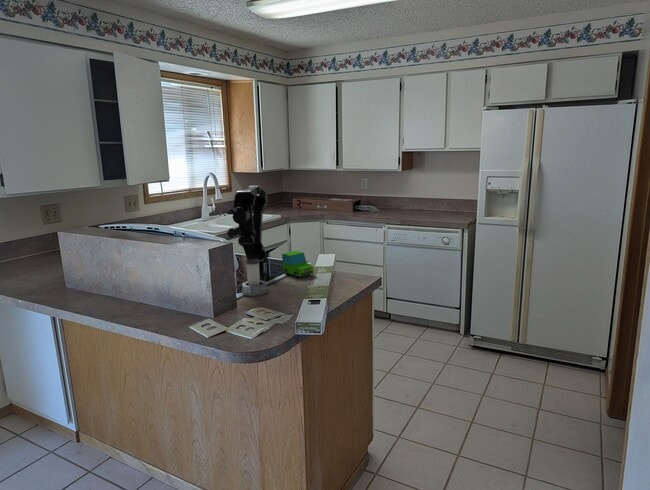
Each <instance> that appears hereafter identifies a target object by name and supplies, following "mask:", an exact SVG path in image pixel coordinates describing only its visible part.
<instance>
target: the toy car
mask: <svg viewBox="0 0 650 490" xmlns="http://www.w3.org/2000/svg"><path fill="white" fill-rule="evenodd" d="M281 255H282V256H281V257H282V259H281V261H282V271H283V273H284V274H285V275H286V274H287V275H286V276H289V275H293V276H294V278H296V279H299V278H301V277H304V276H310V275H312V274H314V265H312V264H310V263H308V261H307V260H306V256H305V253H304V252H303V251H300V250H291V251H288V252H283V253H282V254H281Z"/></svg>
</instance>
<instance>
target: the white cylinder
mask: <svg viewBox="0 0 650 490" xmlns="http://www.w3.org/2000/svg"><path fill="white" fill-rule="evenodd" d="M245 264H246V272H247V273H246V274H247V276H246V277H247V281H248V286H259V285H260V280H261V277H260V273H259V259H248V260H247V259H246V260H245Z"/></svg>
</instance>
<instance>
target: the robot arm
mask: <svg viewBox="0 0 650 490" xmlns="http://www.w3.org/2000/svg"><path fill="white" fill-rule="evenodd" d="M233 200H234V201H233V208H234V209H236V210H235V211H234V212H233V215H232V220H233V222H234V223H235V224H238V226H235V227H231V228H228V230H227V231H226V234H227V236H228V238H229V239H232V238H233V237H236V236H237V237H238V236H239V237H238V239H237V241H238V242H237V243H238V245H239V246H241V247H242V248H243V251H244V253H245V257H246V260H248V259H259V273H260V278H261V277H262V276H265V275H267V274H268V271H266V269H265V266H266V265H265V264H266V263H268V262H269V257H268V254H267V252H266V250H265V248H266V247H265V245H264V244H263V242H262V241H263V239H262V238H263V237H262V235H263V214H264V213H265V211H266V209H267V206H268V205H267V204H268V203H269V199H268V195H267V192H266V191H264V190H263V189H262V188H261V186H260V185H248V188H246V189H245V190H237V191H236V193H235V194H234V199H233Z"/></svg>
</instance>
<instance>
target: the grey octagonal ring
mask: <svg viewBox="0 0 650 490" xmlns="http://www.w3.org/2000/svg"><path fill="white" fill-rule="evenodd" d="M241 286H242V289H241V292H240V293H243V294H245V295H246V296H245V295H244V296H245V297H258V296H263V295H266V294H267V293H268V292H269V289H268V288H267V282H266V280H265V281H264V280H261V279H260V285H259V286H248V280H247V281H245V282H242V283H241Z"/></svg>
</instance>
